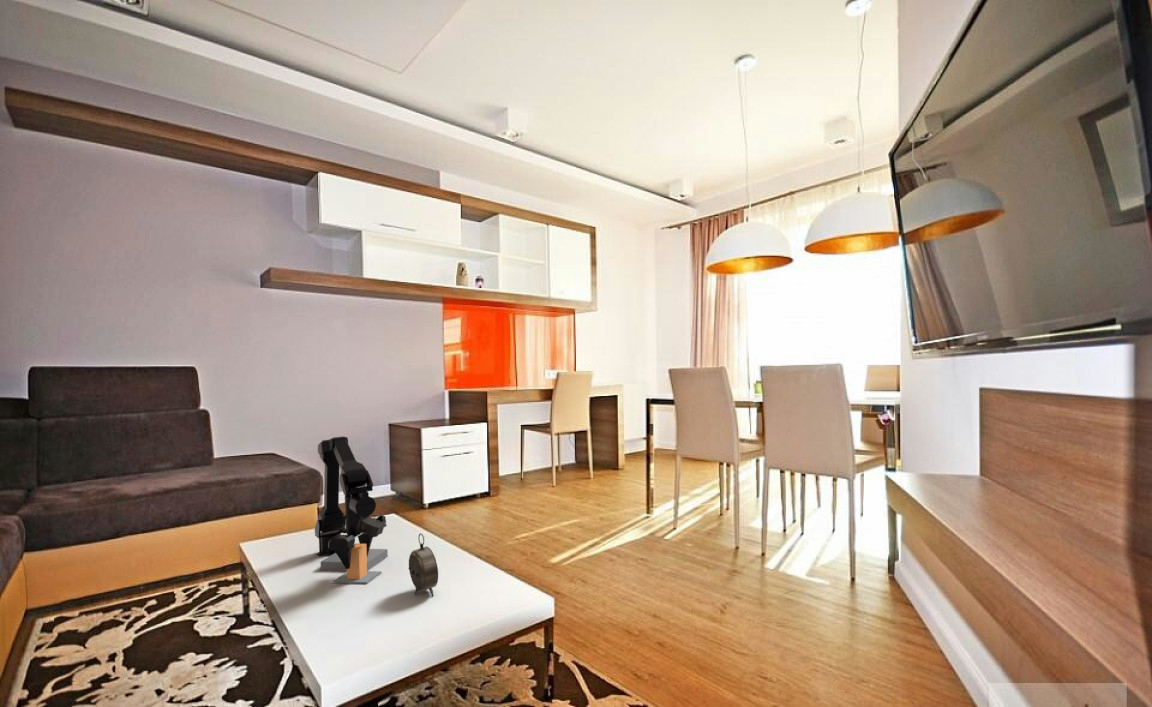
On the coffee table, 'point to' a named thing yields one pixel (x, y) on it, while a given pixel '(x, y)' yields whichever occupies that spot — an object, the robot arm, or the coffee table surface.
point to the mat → (363, 580)
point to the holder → (336, 564)
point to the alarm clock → (423, 568)
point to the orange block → (358, 562)
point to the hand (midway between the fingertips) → (356, 562)
